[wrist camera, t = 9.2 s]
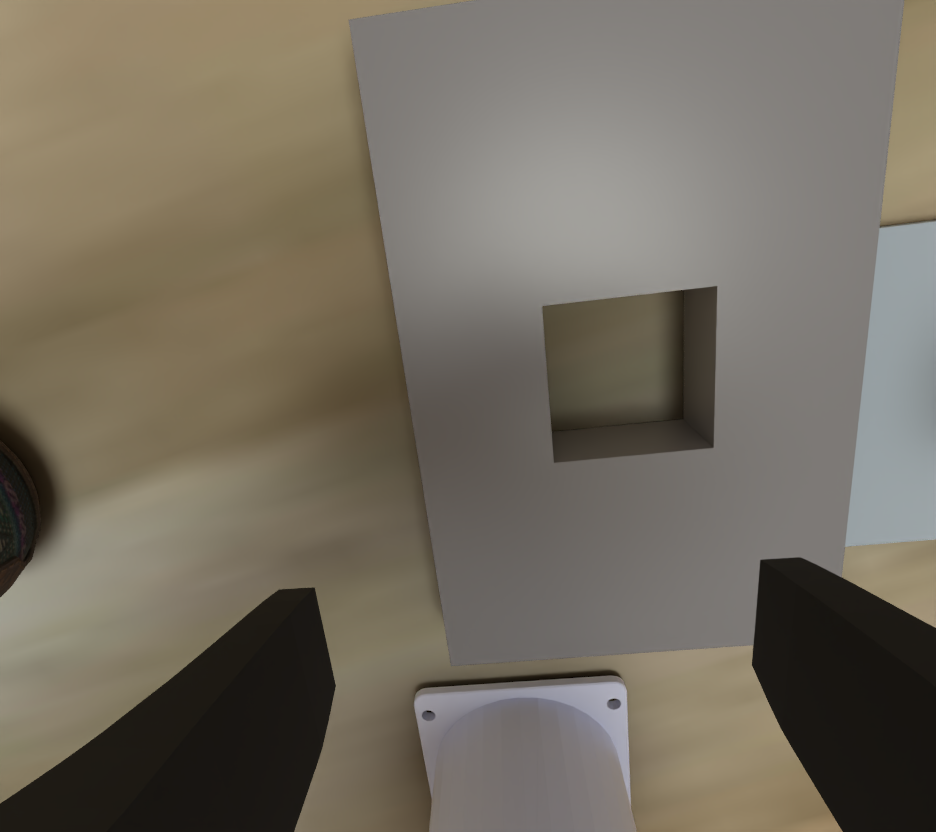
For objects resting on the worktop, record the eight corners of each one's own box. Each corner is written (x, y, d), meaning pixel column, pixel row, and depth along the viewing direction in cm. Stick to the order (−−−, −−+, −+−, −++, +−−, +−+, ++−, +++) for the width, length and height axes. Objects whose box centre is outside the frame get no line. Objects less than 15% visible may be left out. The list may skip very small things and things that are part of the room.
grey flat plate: (792, 589, 19) (835, 639, 17) (455, 615, 20) (450, 666, 18) (839, -17, 14) (911, -68, 11) (371, 54, 15) (348, 19, 12)
